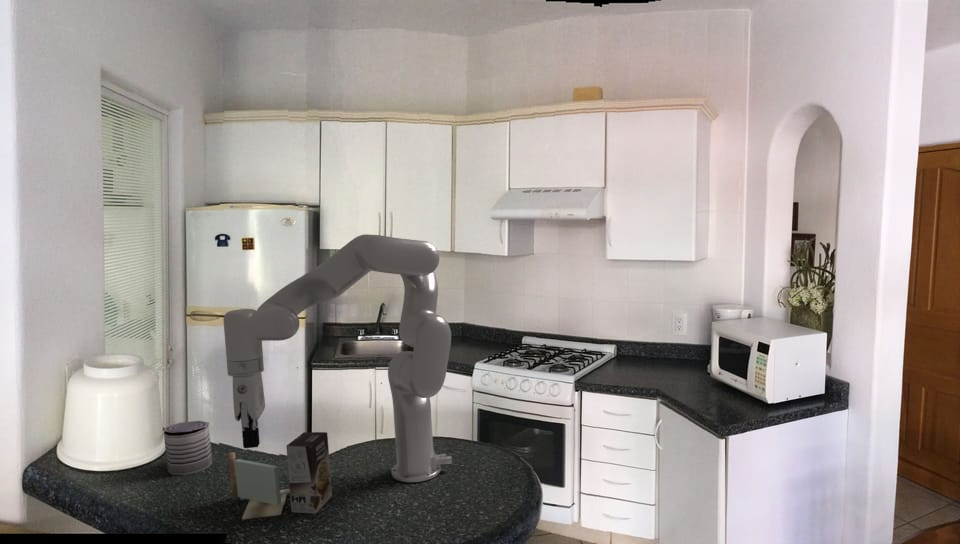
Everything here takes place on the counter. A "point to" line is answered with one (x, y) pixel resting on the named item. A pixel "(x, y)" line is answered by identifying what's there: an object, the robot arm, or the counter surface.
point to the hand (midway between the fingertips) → (251, 446)
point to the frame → (234, 482)
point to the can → (187, 447)
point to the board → (263, 508)
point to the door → (258, 481)
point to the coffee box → (309, 472)
